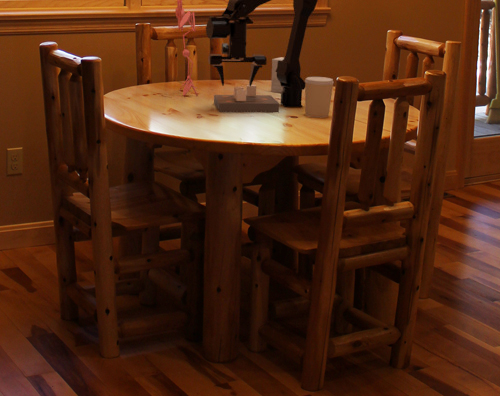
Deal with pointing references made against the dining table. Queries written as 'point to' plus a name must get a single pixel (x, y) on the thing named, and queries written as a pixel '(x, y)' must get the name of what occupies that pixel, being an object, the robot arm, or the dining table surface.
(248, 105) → the switch unit
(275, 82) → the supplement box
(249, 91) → the slider
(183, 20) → the figurine
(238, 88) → the slider
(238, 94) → the slider
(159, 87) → the dining table surface
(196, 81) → the dining table surface
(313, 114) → the coffee cup
